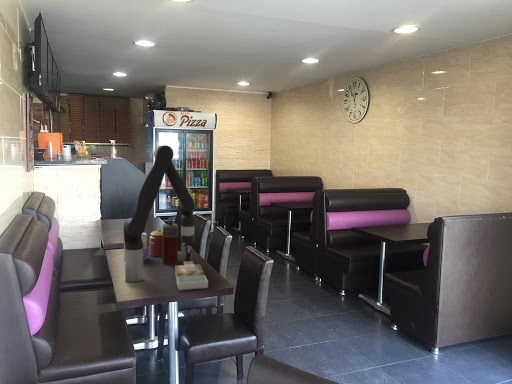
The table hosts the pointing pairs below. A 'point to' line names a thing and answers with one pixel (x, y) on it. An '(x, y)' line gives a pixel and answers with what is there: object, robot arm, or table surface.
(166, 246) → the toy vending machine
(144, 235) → the candy box
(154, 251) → the canister
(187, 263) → the terracotta tile
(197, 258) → the table surface
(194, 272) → the birch board
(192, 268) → the white tile
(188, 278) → the grey tray
